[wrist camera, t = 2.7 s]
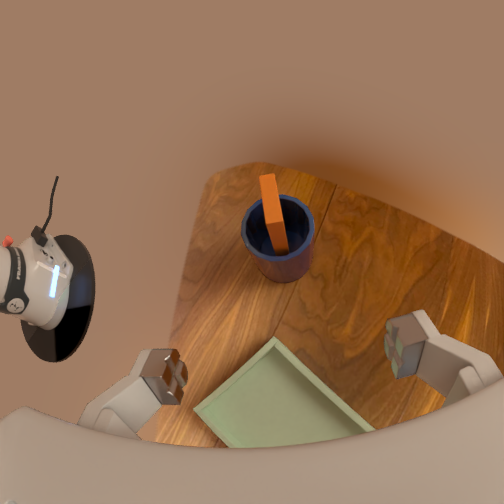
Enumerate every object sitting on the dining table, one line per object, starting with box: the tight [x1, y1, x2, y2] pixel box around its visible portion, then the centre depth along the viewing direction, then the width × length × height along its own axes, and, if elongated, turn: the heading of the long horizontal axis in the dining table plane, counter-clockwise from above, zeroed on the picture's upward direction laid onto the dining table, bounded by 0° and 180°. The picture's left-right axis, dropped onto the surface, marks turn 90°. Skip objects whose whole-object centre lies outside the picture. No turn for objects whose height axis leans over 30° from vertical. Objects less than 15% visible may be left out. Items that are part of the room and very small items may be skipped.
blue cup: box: [241, 194, 315, 283], centre depth 32 cm, size 7×7×9 cm
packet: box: [259, 173, 289, 256], centre depth 29 cm, size 1×5×14 cm, turn 6°
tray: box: [193, 337, 376, 448], centre depth 27 cm, size 19×14×3 cm
